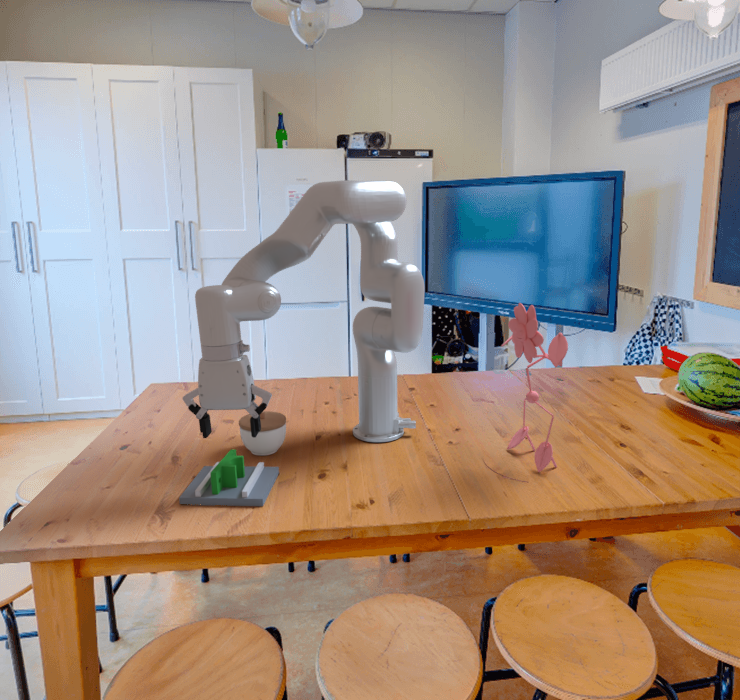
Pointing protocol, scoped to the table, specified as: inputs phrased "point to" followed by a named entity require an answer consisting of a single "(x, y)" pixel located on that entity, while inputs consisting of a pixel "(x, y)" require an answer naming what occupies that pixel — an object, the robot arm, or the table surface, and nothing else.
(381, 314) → the robot arm
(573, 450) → the table surface
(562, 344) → the figurine
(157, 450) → the table surface
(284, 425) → the lidded jar
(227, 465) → the pipe clamp
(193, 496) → the rail board
